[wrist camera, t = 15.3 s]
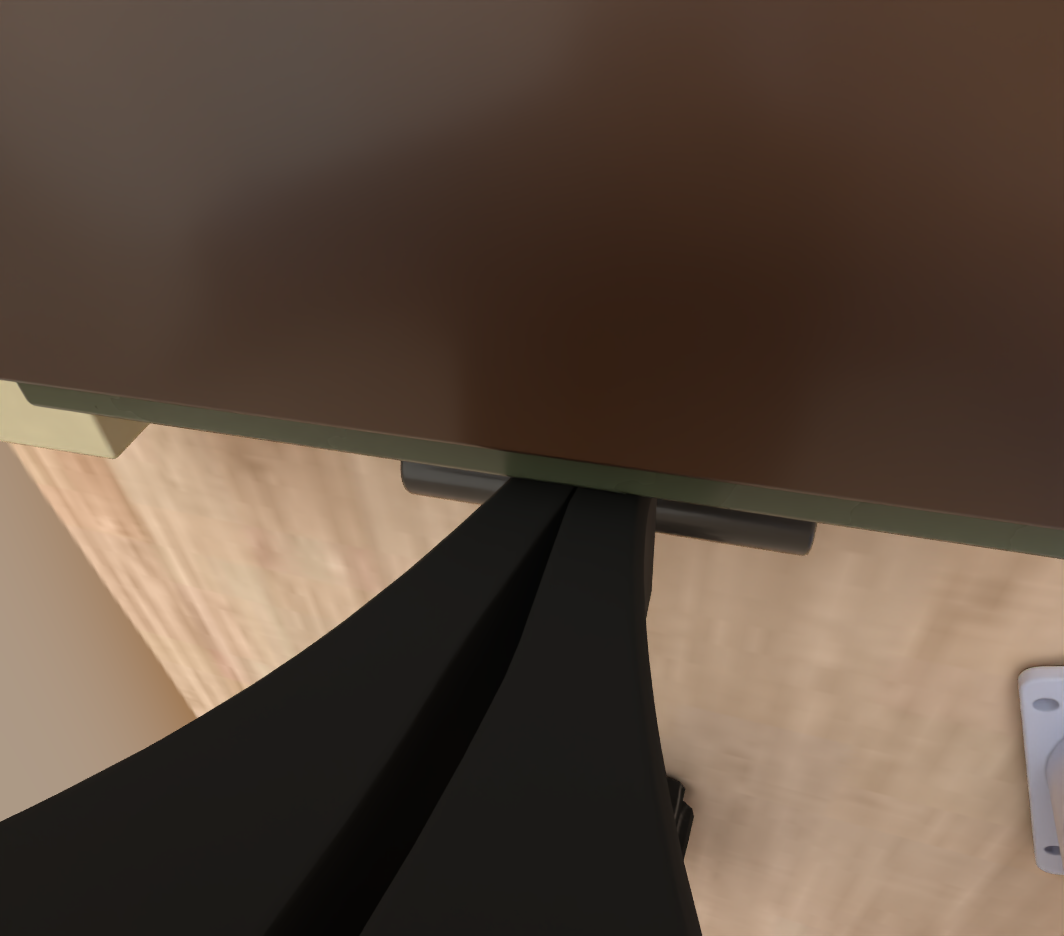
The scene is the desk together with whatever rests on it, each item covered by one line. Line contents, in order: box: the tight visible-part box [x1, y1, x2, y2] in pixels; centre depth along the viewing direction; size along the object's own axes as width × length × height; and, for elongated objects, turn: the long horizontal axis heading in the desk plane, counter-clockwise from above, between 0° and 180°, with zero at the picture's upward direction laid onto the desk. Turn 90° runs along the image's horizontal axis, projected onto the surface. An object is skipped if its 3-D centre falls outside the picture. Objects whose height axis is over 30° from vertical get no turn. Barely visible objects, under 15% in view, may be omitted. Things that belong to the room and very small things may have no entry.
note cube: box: [0, 380, 150, 459], centre depth 15 cm, size 4×4×6 cm
